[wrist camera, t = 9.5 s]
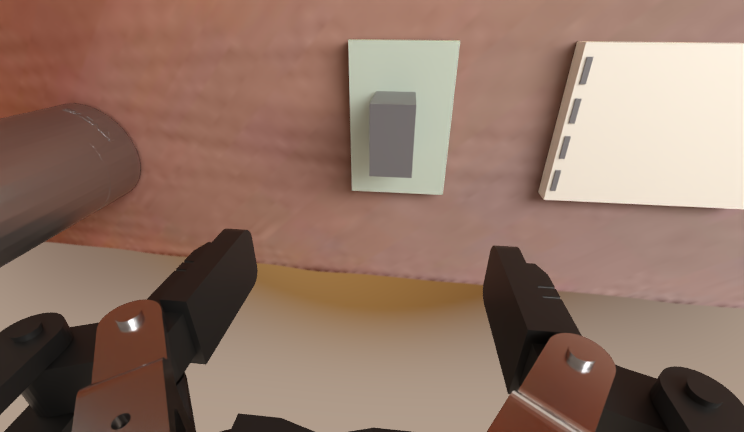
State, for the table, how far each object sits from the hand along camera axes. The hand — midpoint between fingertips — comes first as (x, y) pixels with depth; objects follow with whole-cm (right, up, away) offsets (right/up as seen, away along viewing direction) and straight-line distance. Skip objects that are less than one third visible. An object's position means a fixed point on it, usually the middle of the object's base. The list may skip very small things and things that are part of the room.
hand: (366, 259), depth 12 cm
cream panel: (+23, +8, +16) cm, 29 cm away
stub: (+3, +9, +17) cm, 20 cm away
